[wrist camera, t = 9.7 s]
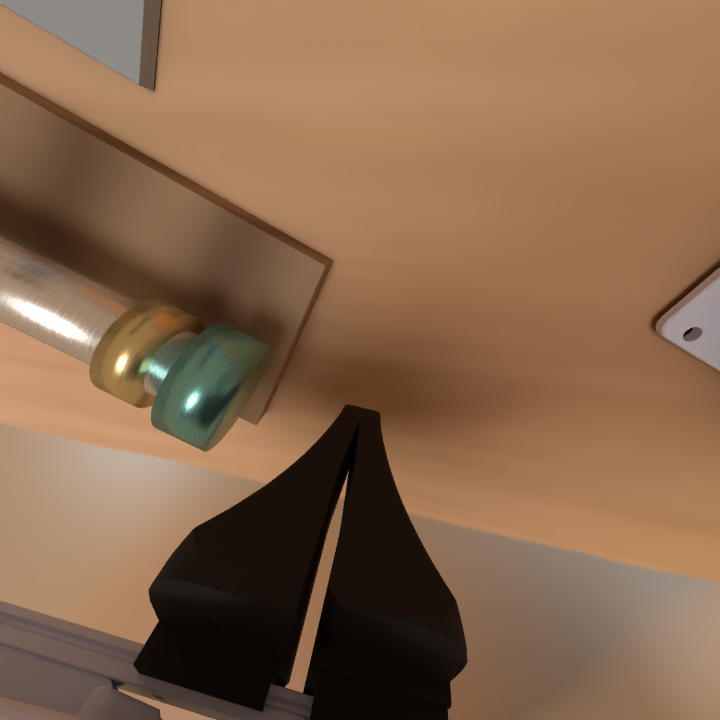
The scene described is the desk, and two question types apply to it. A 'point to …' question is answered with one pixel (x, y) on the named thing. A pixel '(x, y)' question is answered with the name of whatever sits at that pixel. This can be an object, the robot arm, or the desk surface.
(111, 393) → the shaft
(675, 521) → the desk surface
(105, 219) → the bracket
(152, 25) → the pad
